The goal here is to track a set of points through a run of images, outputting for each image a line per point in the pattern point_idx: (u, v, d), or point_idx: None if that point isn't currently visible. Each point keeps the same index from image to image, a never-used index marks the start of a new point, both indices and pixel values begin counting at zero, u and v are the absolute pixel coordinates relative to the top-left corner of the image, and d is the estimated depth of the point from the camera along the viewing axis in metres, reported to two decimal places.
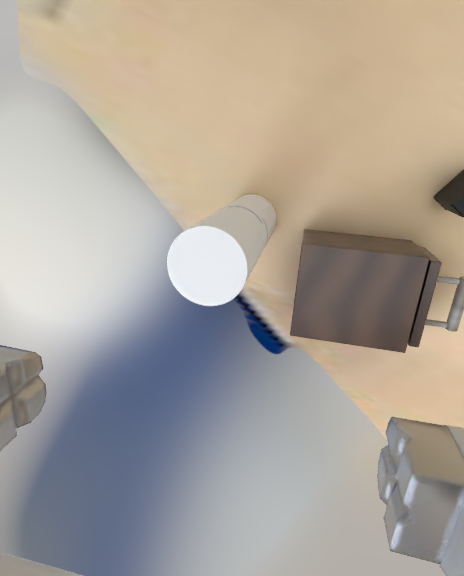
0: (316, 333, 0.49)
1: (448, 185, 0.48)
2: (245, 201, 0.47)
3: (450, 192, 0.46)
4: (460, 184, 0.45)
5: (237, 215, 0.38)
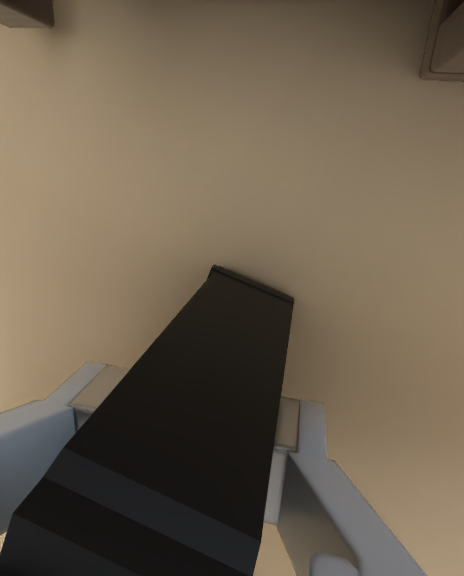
0: None
1: None
2: None
3: None
4: None
5: None
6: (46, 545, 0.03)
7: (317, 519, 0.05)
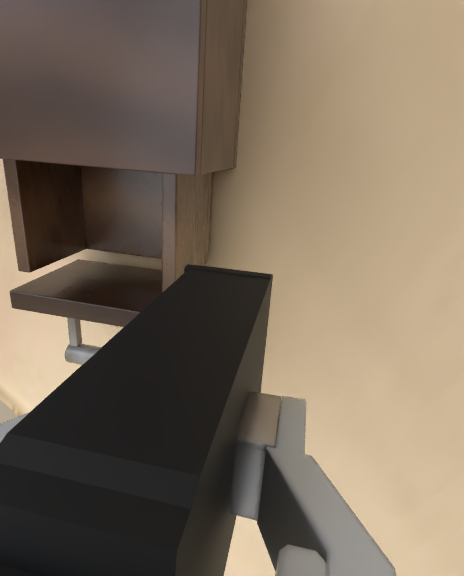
0: None
1: (263, 349, 0.10)
2: None
3: (247, 392, 0.07)
4: None
5: None
6: None
7: (292, 513, 0.06)
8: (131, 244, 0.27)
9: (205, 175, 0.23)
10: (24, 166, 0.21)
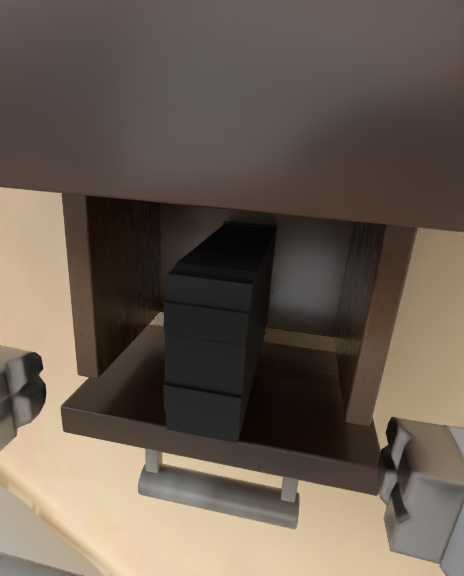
0: None
1: (270, 276, 0.16)
2: None
3: (265, 281, 0.13)
4: (260, 316, 0.13)
5: None
6: (181, 281, 0.09)
7: None
8: None
9: None
10: (97, 201, 0.12)
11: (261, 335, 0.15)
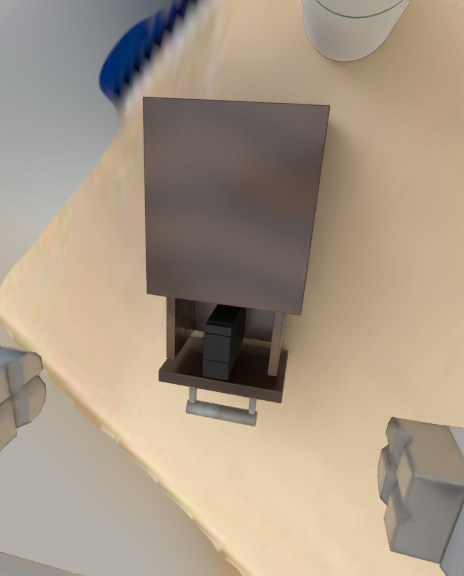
0: (155, 148, 0.27)
1: (244, 315, 0.37)
2: None
3: (239, 321, 0.34)
4: (238, 335, 0.34)
5: None
6: (209, 327, 0.30)
7: None
8: None
9: None
10: None
11: (239, 342, 0.36)
